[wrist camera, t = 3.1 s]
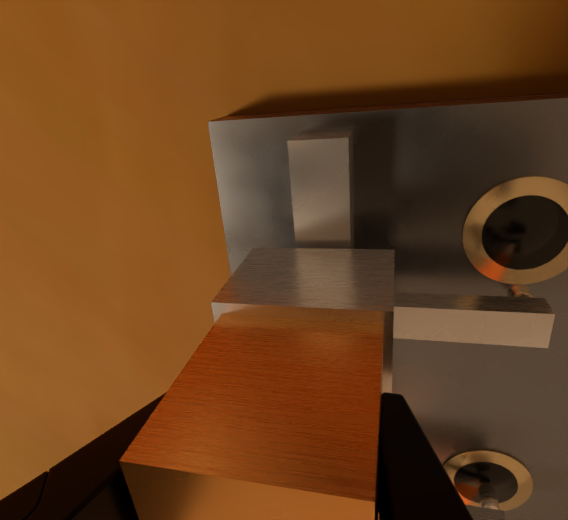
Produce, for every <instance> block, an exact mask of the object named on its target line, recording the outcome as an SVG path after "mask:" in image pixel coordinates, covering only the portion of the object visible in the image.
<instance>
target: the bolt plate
mask: <svg viewBox="0 0 568 520" xmlns="http://www.w3.org/2000/svg"><path fill="white" fill-rule="evenodd" d="M208 126H209V133H210V139H211V146H212V153H213V159H214V166H215V172H216V179H217V186H218V192H219V199H220V205H221V212H222V219H223V225H224V232H225V238H226V245H227V252H228V258H229V265H230V271H231V276H232V275H233V273H234V272H235V271H236V269H237V268H238V267H239V266H240V264H241V263H242V262H243V260H244V259H245V258H246V256H247V255H248V254H249V253H250V251H251V250H252V249H253V248H319V249H387V250H394V292H405V293H431V294H457V295H482V296H507V292H508V290H509V289H510V288H511V287H512V286H514V285H524V286H526V287H528V288H529V290H530V292H531V293H532V295H533V297H534V298H545V299H546V301H547V302H548V304H549V305H550V307H551V308H552V310H553V312H554V313H555V317H554V322H553V327H552V332H551V336H550V341H549V346H548V348H537V347H522V346H507V345H491V344H476V343H461V342H446V341H430V340H415V339H400V338H393V365H392V393H397V394H401V395H403V396H404V398H405V399H406V401H407V403H408V405H409V406H410V408H411V410H412V412H413V414H414V415H415V417H416V419H417V421H418V422H419V424H420V426H421V428H422V429H423V431H424V433H425V435H426V436H427V438H428V440H429V442H430V443H431V445H432V447H433V449H434V451H435V452H436V454H437V456H438V458H439V459H440V461H441V463H442V465H443V466H444V468H445V470H446V472H447V473H448V475H449V477H450V479H451V481H452V482H453V484H454V486H455V488H456V489H457V491H458V493H459V495H460V496H461V498H462V500H463V502H464V503H465V505H466V507H467V509H468V511H469V512H470V514H471V516H472V518H473V519H474V520H568V93H553V94H539V95H524V96H510V97H495V98H481V99H466V100H452V101H437V102H423V103H408V104H394V105H379V106H364V107H350V108H335V109H321V110H306V111H292V112H277V113H263V114H248V115H234V116H224V117H221V118H218V119H215V120H212V121H208Z"/></svg>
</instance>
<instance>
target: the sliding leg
mask: <svg viewBox="0 0 568 520" xmlns="http://www.w3.org/2000/svg"><path fill="white" fill-rule="evenodd" d="M211 305H212V311H213V317H214V322H215V324H214V325H213V327H212V328H211V330H210V331H209V332H208V334H207V335H206V337H205V338H204V340H203V341H202V342H201V344H200V345H199V347H198V348H197V350H196V351H195V353H194V354H193V355H192V357H191V358H190V360H189V361H188V363H187V364H186V365H185V367H184V368H183V370H182V371H181V373H180V374H179V376H178V377H177V378H176V380H175V381H174V383H173V384H172V386H171V387H170V388H169V390H168V391H167V393H166V394H165V396H164V397H163V399H162V400H161V401H160V403H159V404H158V406H157V407H156V409H155V410H154V411H153V413H152V414H151V416H150V417H149V419H148V420H147V421H146V423H145V424H144V426H143V427H142V429H141V430H140V432H139V433H138V434H137V436H136V437H135V439H134V440H133V442H132V443H131V444H130V446H129V447H128V449H127V450H126V452H125V453H124V455H123V456H122V457H121V459H120V460H119V462H120V465H121V468H122V471H123V474H124V477H125V480H126V483H127V485H128V488H129V491H130V494H131V497H132V500H133V503H134V506H135V509H136V512H137V515H138V518H139V520H379V512H378V503H379V434H380V414H381V395H382V393H384V392H387V393H392V365H393V338H400V339H415V340H430V341H446V342H461V343H476V344H491V345H507V346H522V347H537V348H548V346H549V341H550V336H551V332H552V327H553V322H554V317H555V313H554V312H553V310H552V308H551V307H550V305H549V304H548V302H547V301H546V299H545V298H534V297H533V295H532V293H531V292H530V290H529V288H528V287H526V286H524V285H514V286H512V287H511V288H510V289H509V290H508V292H507V296H482V295H457V294H431V293H405V292H394V250H387V249H319V248H253V249H252V250H251V251H250V253H249V254H248V255H247V256H246V258H245V259H244V260H243V262H242V263H241V264H240V266H239V267H238V268H237V269H236V271H235V272H234V273H233V275H232V276H231V277H230V278H229V280H228V281H227V282H226V284H225V285H224V286H223V288H222V289H221V290H220V291H219V293H218V294H217V295H216V297H215V298H214V299H213V300H212V302H211Z"/></svg>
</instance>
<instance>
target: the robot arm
mask: <svg viewBox="0 0 568 520" xmlns="http://www.w3.org/2000/svg"><path fill="white" fill-rule="evenodd" d="M166 393H167V392H166ZM166 393H165V394H166ZM165 394H163V395H162V396H160V397H159V398H157V399H155V400H154V401H152V402H151V403H149V404H148V405H146V406H145V407H143V408H142V409H140V410H139V411H137V412H136V413H134V414H133V415H131V416H130V417H128V418H126V419H125V420H123V421H122V422H120V423H119V424H117V425H116V426H114V427H113V428H111V429H110V430H108V431H107V432H105V433H104V434H102V435H101V436H99V437H97V438H96V439H94V440H93V441H91V442H90V443H88V444H87V445H85V446H84V447H82V448H81V449H79V450H78V451H76V452H75V453H73V454H72V455H70V456H68V457H67V458H65V459H64V460H62V461H61V462H59V463H58V464H56V465H55V466H53V467H52V468H50V470H49V472H48V471H46V472H44V473H42V474H41V475H39V476H38V477H36V478H35V479H33V480H32V481H30V482H29V483H27V484H25V485H24V486H22V487H21V488H19V489H18V490H16V491H14V492H13V493H11V494H10V495H8V496H6V497H5V498H3V499H2V500H0V520H139V518H138V515H137V512H136V509H135V506H134V503H133V500H132V497H131V494H130V491H129V488H128V485H127V483H126V480H125V477H124V474H123V471H122V468H121V465H120V462H119V460H120V459H121V457H122V456H123V455H124V453H125V452H126V450H127V449H128V447H129V446H130V444H131V443H132V442H133V440H134V439H135V437H136V436H137V434H138V433H139V432H140V430H141V429H142V427H143V426H144V424H145V423H146V421H147V420H148V419H149V417H150V416H151V414H152V413H153V411H154V410H155V409H156V407H157V406H158V404H159V403H160V401H161V400H162V399H163V397H164V396H165ZM378 512H379V520H474V519H473V518H472V516H471V514H470V512H469V511H468V509H467V507H466V505H465V503H464V502H463V500H462V498H461V496H460V495H459V493H458V491H457V489H456V488H455V486H454V484H453V482H452V481H451V479H450V477H449V475H448V473H447V472H446V470H445V468H444V466H443V465H442V463H441V461H440V459H439V458H438V456H437V454H436V452H435V451H434V449H433V447H432V445H431V443H430V442H429V440H428V438H427V436H426V435H425V433H424V431H423V429H422V428H421V426H420V424H419V422H418V421H417V419H416V417H415V415H414V414H413V412H412V410H411V408H410V406H409V405H408V403H407V401H406V399H405V398H404V396H403V395H401V394H397V393H387V392H384V393H382V395H381V414H380V434H379V503H378Z"/></svg>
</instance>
